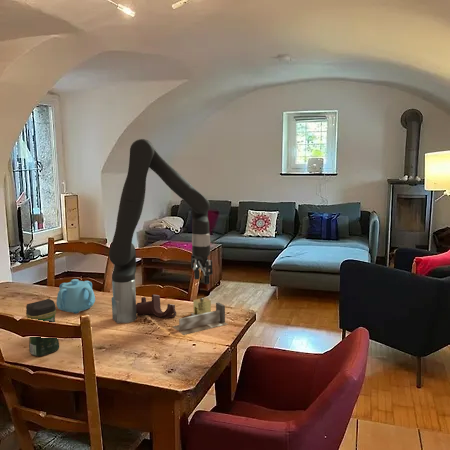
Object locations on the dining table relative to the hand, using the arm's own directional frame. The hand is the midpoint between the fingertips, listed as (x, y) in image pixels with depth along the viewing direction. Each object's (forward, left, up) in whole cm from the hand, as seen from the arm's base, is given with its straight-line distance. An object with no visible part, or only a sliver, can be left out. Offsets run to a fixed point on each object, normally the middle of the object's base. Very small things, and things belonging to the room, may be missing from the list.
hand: (201, 281), depth 194 cm
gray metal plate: (0, 0, -15) cm, 15 cm away
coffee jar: (-64, 0, -16) cm, 66 cm away
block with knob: (0, 0, -14) cm, 14 cm away
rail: (-7, -11, -15) cm, 20 cm away
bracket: (-16, +10, -16) cm, 25 cm away
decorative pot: (-43, +38, -16) cm, 59 cm away
